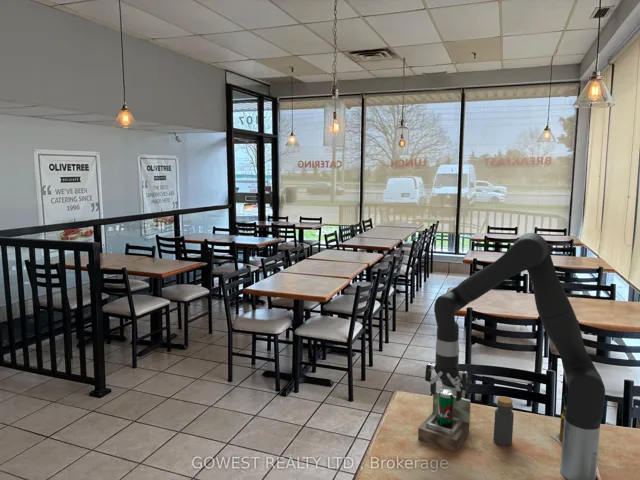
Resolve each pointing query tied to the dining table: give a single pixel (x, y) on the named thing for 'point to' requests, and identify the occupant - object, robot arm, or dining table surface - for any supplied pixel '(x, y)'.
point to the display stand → (447, 436)
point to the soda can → (445, 408)
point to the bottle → (503, 421)
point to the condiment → (560, 436)
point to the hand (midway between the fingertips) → (445, 397)
